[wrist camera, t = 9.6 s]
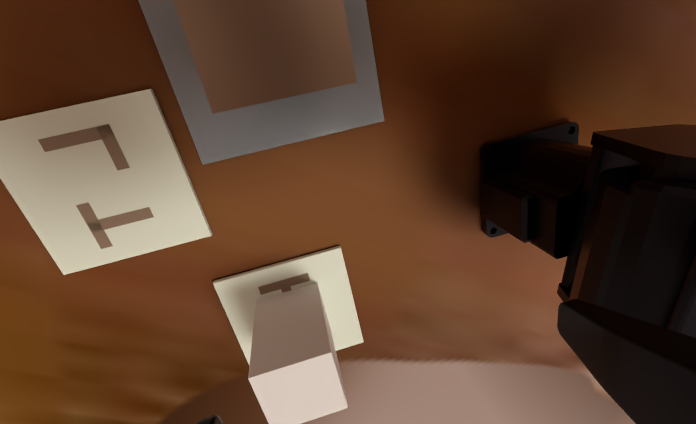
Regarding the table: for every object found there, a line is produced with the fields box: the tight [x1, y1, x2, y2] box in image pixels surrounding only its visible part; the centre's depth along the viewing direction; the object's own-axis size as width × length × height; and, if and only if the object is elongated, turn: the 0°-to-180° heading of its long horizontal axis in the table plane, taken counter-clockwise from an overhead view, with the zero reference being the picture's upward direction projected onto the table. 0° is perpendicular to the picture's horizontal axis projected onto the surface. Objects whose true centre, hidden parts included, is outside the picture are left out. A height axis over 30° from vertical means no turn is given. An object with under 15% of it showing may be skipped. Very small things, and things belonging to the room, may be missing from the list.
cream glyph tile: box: [0, 89, 212, 275], centre depth 17 cm, size 8×8×1 cm
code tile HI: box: [213, 246, 364, 366], centre depth 22 cm, size 8×8×1 cm
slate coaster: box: [138, 0, 384, 165], centre depth 16 cm, size 10×10×1 cm
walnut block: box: [173, 0, 357, 114], centre depth 13 cm, size 5×5×6 cm
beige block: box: [248, 283, 348, 424], centre depth 19 cm, size 4×4×6 cm
